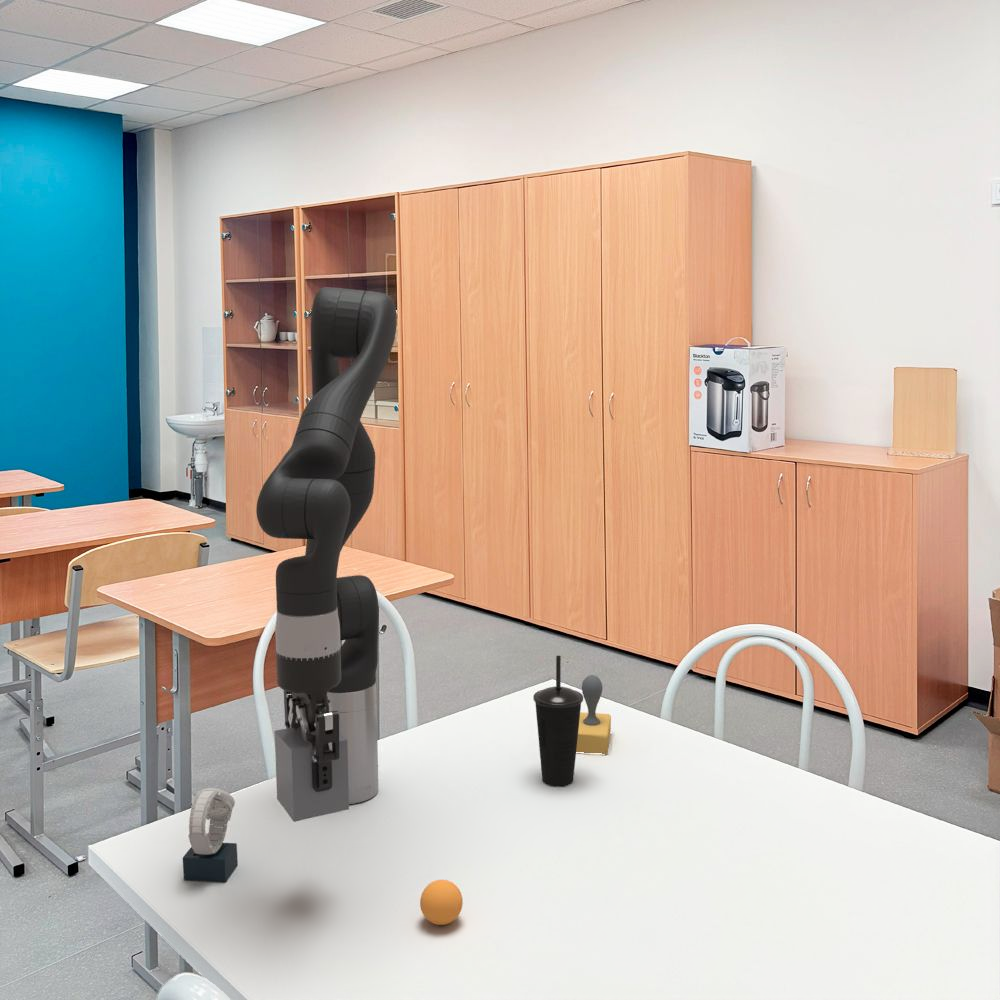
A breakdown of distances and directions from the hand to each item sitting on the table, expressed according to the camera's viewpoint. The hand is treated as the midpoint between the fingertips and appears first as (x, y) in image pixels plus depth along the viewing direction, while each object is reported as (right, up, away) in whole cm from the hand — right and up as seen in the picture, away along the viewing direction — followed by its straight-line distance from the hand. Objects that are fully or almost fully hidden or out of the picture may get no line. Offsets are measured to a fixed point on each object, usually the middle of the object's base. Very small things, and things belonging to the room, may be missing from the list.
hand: (312, 777), depth 126 cm
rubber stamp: (+38, -8, +51) cm, 64 cm away
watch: (-15, -15, +9) cm, 23 cm away
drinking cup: (+32, -10, +36) cm, 49 cm away
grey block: (0, -3, +1) cm, 3 cm away
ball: (+16, -14, -3) cm, 21 cm away
